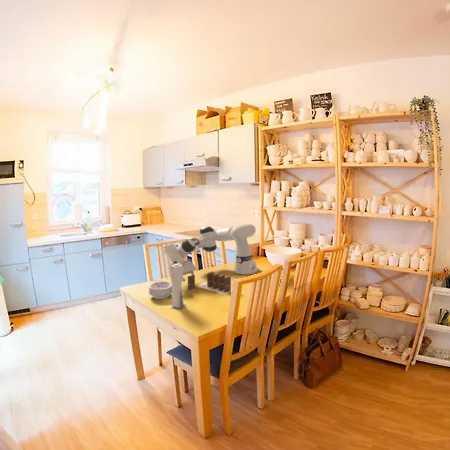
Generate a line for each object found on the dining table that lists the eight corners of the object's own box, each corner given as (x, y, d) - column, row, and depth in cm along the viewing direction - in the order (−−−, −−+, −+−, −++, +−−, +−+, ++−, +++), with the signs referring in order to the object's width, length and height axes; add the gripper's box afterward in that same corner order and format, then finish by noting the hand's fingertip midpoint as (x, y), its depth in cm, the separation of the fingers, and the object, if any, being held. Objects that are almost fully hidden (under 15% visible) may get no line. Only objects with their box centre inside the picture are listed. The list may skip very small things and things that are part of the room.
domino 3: (212, 288, 217) (212, 274, 215) (217, 286, 221) (217, 272, 219) (214, 289, 216) (214, 275, 214) (219, 287, 220) (219, 273, 218)
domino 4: (218, 290, 214) (218, 276, 212) (223, 288, 218) (222, 274, 216) (220, 290, 213) (220, 276, 211) (225, 288, 217) (224, 274, 215)
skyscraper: (168, 308, 188) (167, 263, 183) (173, 303, 195) (171, 259, 191) (182, 309, 186) (181, 263, 182) (186, 304, 194) (185, 260, 190)
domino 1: (188, 290, 217) (187, 276, 215) (193, 288, 221) (192, 274, 219) (189, 291, 216) (189, 277, 214) (195, 289, 219) (194, 275, 218)
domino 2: (207, 287, 220) (207, 273, 219) (212, 285, 224) (211, 271, 222) (209, 287, 219) (209, 273, 217) (214, 285, 223) (213, 272, 221)
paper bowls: (149, 302, 197) (149, 290, 196) (148, 293, 211) (148, 282, 210) (174, 299, 201) (173, 287, 200) (171, 291, 215) (171, 280, 214)
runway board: (207, 283, 231) (207, 281, 231) (236, 290, 215) (236, 289, 215) (196, 287, 222) (196, 286, 222) (225, 296, 206) (225, 294, 206)
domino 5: (224, 291, 211) (224, 277, 209) (228, 289, 215) (228, 275, 213) (226, 292, 210) (226, 278, 208) (230, 290, 214) (230, 276, 212)
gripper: (187, 262, 232) (197, 277, 228) (166, 268, 216) (176, 285, 212) (191, 257, 229) (201, 273, 224) (170, 263, 213) (180, 280, 208)
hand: (189, 279), depth 218 cm, fingers open, 8 cm apart
